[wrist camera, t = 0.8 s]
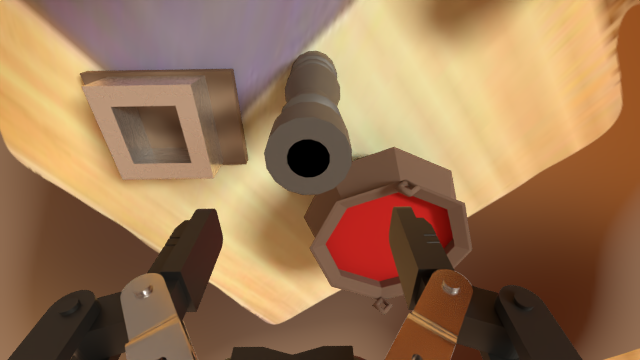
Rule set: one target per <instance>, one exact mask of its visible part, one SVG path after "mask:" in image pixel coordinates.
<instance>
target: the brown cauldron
mask: <svg viewBox="0 0 640 360" xmlns="http://www.w3.org/2000/svg"><path fill="white" fill-rule="evenodd" d="M406 206H410V207H411V208H412V209H413V212H414V214H415V216H416V218H424V219H425V220H426V221H428V222H429V223H430V224H431V225H432V227H433V229H434V231H435V233H436V236H437V237H438V239H439V241H440V243H441V245H442V247H443V249H444V251H445V253H446V255H447V257H448V259H449V260H450V262H451V264H452V266H453V268H455V267H456V266H457V265H458V264H459V263H460V262H461V261H462V260H463V259H464V258H465V256H467V255H468V254H469V253H470V252H471V251H472V245H471V239H470V233H469V227H468V220H467V214H466V207H465V203H463V202H461V201H458V200H456V195H455V189H454V184H453V178H452V172H451V171H450V170H448V169H445V168H443V167H441V166H438V165H436V164H434V163H431V162H429V161H426V160H424V159H422V158H419V157H417V156H414V155H412V154H410V153H407V152H405V151H403V150H400V149H398V148H395V147H392V148H389V149H387V150H384V151H381V152H378V153H375V154H372V155H369V156H366V157H363V158H360V159H357V160H354V161H352V163H351V167H350V169H349V171H348V173H347V175H346V177H345V179H344V180H343V181H342V182H340V183H339V184H338V185H337V186H336V187H335V188H334V189H331V190H329V191H326V192H324V193H321V194H316V195H315V197H314V199H313V201H312V203H311V204H310V206H309V208H308V210H307V212H306V214H305V216H304V218H305V220H306V222H307V224H308V226H309V227H310V229H311V231H312V233H313V235H314V237H315V240H314V241H313V243H312V245H311V247H310V250H311V252H312V253H313V255H314V257H315V259H316V260H317V262H318V264H319V266H320V267H321V269H322V271H323V273H324V275H325V276H326V278H327V280H328V282H329V283H330V285H331V286H332V287H335V288H339V289H342V290H346V291H349V292H353V293H356V294H360V295H363V296H367V297H370V298H374V299H377V301H376V302H375V303H374V304H373V306H374V307H375V308H376V309H377V310H379V311H380V312H381V313H383V314H384V315H385V314H386V313H387V312H388V311H389V309H390V308H391V307H392V306H393V305H391V304H390V303H389V302H387V301H386V300H385V299H389V298H393V297H397V296H401V295H404V293H403V289H402V286H401V282H400V279H399V275H398V272H397V268H396V265H395V262H394V258H393V255H392V251H391V248H390V244H389V229H390V222H391V216H392V210H393V207H406ZM381 302H383V303H384V304H385V305H386V307H385V308H384V309H382V308H381V307H380V306H379V304H380V303H381Z"/></svg>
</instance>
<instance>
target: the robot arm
mask: <svg viewBox="0 0 640 360" xmlns="http://www.w3.org/2000/svg"><path fill="white" fill-rule="evenodd" d="M222 244H223V235H222V230H221V227H220V223H219V219H218V215H217V212H216V210H215V209H197V210H196V211H195V213H194V214H193V216H192V218H191V219H190V220H185V221H184V222H182V223H181V224H180V225H179V226H178V227H176V228H175V230H174V231H173V233H172V235H171V236H170V239H168V241H167V242H166V244H165V247H163V249H162V250H161V252H160V254H159V255H158V257H157V258H156V260H155V262H154V263H153V265H152V267H151V268H150V270H149V271H148V273H147V274H144V275H142V276H139V277H137V278H135V279H134V280H132V281H131V282H129V283H128V284H127V286H125V288H124V289H123V291H122V292H118V293H115V294H111V295H107V296H104V297H100V298H96V296H95V295H94V294H93V292H91V291H89V290H80V291H76V292H73V293H70V294H68V295H66V296H64V297H62V298H61V299H59V300H58V301H57V302H55V303H54V304H53V305H52V306H51V307H50V308H49V309H48V310H47V312H46V313H45V314H44V315H43V317H42V318H41V319H40V320H39V322H38V323H37V324H36V325H35V327H34V328H33V329H32V330H31V331H30V333H29V334H28V335H27V336H26V338H25V339H24V340H23V341H22V343H21V344H20V345H19V346H18V348H17V349H16V350H15V351H14V352H13V354H12V355H11V356H10V357H9V359H8V360H70V359H71V360H118V359H119V357H120V355H121V353H124V352H126V357H127V360H198V358H197V356H196V353H195V351H194V348H193V345H192V343H191V340H190V338H189V335H188V332H187V330H186V327H185V325H184V322H183V318H184V315H185V313H186V312H196V311H197V309H198V307H199V304H200V302H201V299H202V297H203V294H204V291H205V289H206V286H207V284H208V281H209V279H210V276H211V274H212V271H213V268H214V266H215V263H216V261H217V258H218V256H219V253H220V251H221V248H222ZM389 244H390V248H391V251H392V255H393V258H394V262H395V265H396V268H397V272H398V275H399V279H400V282H401V286H402V289H403V293H404V296H405V299H406V303H407V306H408V309H409V310H413V312H412V313H409V314H408V316H407V318H406V319H405V321H404V323H403V325H402V327H401V329H400V331H399V333H398V334H397V336H396V338H395V340H394V342H393V344H392V346H391V348H390V350H389V352H388V353H387V355H386V357H385V359H384V360H450V359H451V356H452V354H453V351H454V348H455V345H456V343H457V344H461V345H464V346H467V347H470V348H474V349H477V350H479V351H480V353H481V356H482V358H483V360H582V358H581V357H580V355H579V354H578V353H577V351H576V349H575V348H574V347H573V345H572V344H571V342H570V341H569V339H568V338H567V336H566V335H565V333H564V332H563V330H562V329H561V327H560V326H559V324H558V323H557V322H556V320H555V318H554V317H553V315H552V314H551V313H550V311H549V310H548V308H547V307H546V305H545V304H544V303H543V301H542V300H541V299H540V298H539V297H538V296H537V295H536V294H534V293H533V292H531V291H529V290H527V289H525V288H523V287H520V286H514V285H508V286H505V287H503V288H502V289H501V290H500V291H499V293H496V292H492V291H488V290H484V289H480V288H477V287H474V286H472V285H471V284H470V282H469V281H468V280H467V279H466V278H465V277H464V276H463V275H461V274H460V273H458V272H455V270H454V268H453V266H452V264H451V262H450V260H449V259H448V257H447V255H446V253H445V251H444V249H443V247H442V245H441V243H440V241H439V239H438V237H437V236H436V233H435V231H434V229H433V227H432V225H431V224H430V223H429V222H428V221H426V220H425V219H424V218H416V216H415V214H414V212H413V209H412V208H411V207H410V206H406V207H393V210H392V216H391V222H390V229H389ZM72 356H73V357H72ZM71 357H72V358H71ZM225 360H365V359H363V358H361V357H358V356H354V355H353V347H352V346H322V347H319V348H316V349H312V350H308V351H305V352H301V353H298V354H294V355H291V354H287V353H283V352H279V351H276V350H272V349H268V348H265V347H234V348H233V352H232V356H231V358H228V359H225Z"/></svg>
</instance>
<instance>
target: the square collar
mask: <svg viewBox="0 0 640 360" xmlns="http://www.w3.org/2000/svg"><path fill="white" fill-rule="evenodd" d="M81 87H82V89H83V91H84V94H85V96H86V98H87V100H88V103H89V105H90V107H91V109H92V112H93V114H94V116H95V119H96V121H97V123H98V125H99V128H100V130H101V132H102V134H103V137H104V139H105V141H106V143H107V146H108V148H109V150H110V152H111V155H112V157H113V159H114V161H115V164H116V166H117V168H118V171H119V173H120V175H121V177H122V180H126V179H193V178H214V177H215V175H216V173H217V172H218V170H219V168H220V167H221V165H222V163H223V157H222V153H221V148H220V143H219V139H218V134H217V129H216V125H215V120H214V116H213V111H212V106H211V102H210V97H209V93H208V88H207V83H206V79H205V75H198V76H137V77H106V78H103V79H100V80H98V81H95V82H92V83H89V84H86V85H84V86H81ZM137 106H176V109H177V113H178V116H179V120H180V124H181V127H182V131H183V134H184V138H185V141H186V145H187V148H151V145H150V142H149V139H148V137H147V134H146V131H145V128H144V125H143V122H142V120H141V117H140V114H139V111H138V108H137Z"/></svg>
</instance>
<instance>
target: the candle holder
mask: <svg viewBox="0 0 640 360" xmlns="http://www.w3.org/2000/svg"><path fill="white" fill-rule="evenodd" d="M285 97H286V102H287V104H286V105H285V106H284V107H283V109H282V112H281V114H280V115H279V116H278V118H277V119H276V120H275V122H274V125H273V128H272V130H271V133H270V136H269V139H268V142H267V145H266V149H265V152H264V155H265V161H266V167H267V170H268V171H269V173H270V174H271V176H272V177H273V179H274V180H275V182H277V183H278V184H280V185H281V186H282V187H284V188H285V189H287V190H288V191H291V192H295V193H298V194H302V195H314V194H321V193H324V192H326V191H329V190H331V189H334V188H335V187H336V186H337V185H338V184H339V183H340V182H342V181H343V180H344V179H345V177H346V175H347V173H348V171H349V169H350V167H351V163H352V149H351V144H350V140H349V135H348V131H347V128H346V126H345V124H344V122H343V119H342V117H341V115H340V112H339V110H338V108H337V105H338V102H339V100H340V86H339V83H338V81H337V72H336V69H335V66H334V64H333V62H332V60H331V59H330V58H329V57H328V56H327V55H326V54H323V53H321V52H318V51H308V52H306V53H304V54H302V55H300V56H299V57H298V59H297V60H296V61H295V62H294V64H293V67H292V70H291V73H290V77H289V78H288V81H287V84H286V87H285Z"/></svg>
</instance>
